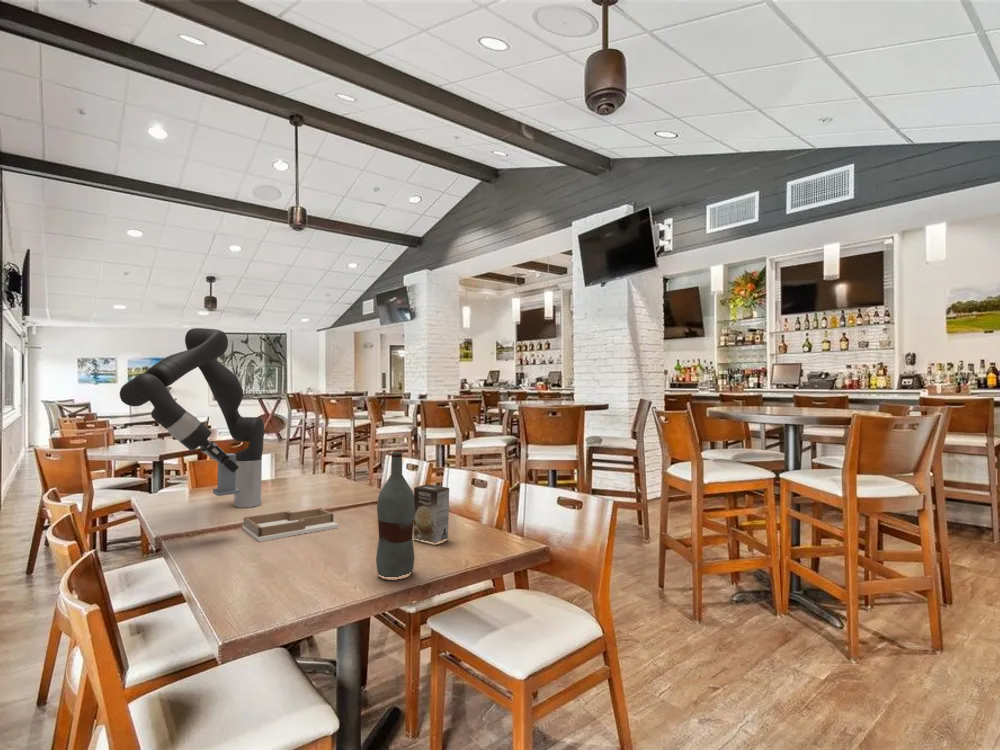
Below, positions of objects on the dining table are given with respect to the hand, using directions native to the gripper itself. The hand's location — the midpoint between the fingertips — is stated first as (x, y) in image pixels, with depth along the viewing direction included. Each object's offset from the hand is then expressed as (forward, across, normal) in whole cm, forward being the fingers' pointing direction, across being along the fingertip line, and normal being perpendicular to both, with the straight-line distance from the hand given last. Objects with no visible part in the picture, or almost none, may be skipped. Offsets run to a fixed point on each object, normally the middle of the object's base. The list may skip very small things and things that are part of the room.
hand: (233, 468), depth 159 cm
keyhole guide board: (+27, 0, +3) cm, 27 cm away
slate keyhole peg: (+4, 0, +6) cm, 7 cm away
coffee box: (+47, -39, -17) cm, 63 cm away
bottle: (+31, -57, -2) cm, 65 cm away
